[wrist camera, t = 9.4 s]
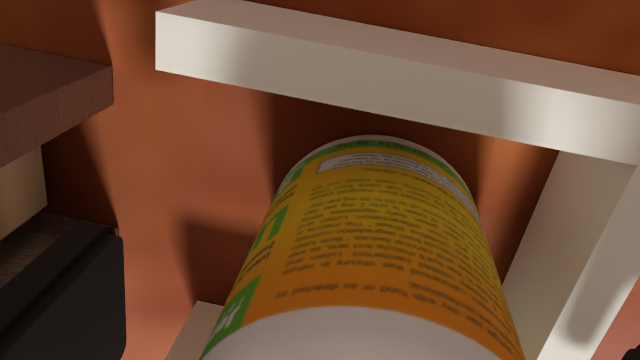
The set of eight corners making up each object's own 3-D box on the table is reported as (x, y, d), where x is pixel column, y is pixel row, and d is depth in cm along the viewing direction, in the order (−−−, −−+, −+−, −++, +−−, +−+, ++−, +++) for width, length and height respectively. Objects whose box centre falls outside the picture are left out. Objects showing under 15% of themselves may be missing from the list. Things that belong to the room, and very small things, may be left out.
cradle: (642, 76, 10) (730, 122, 8) (491, 391, 15) (513, 488, 12) (214, -6, 11) (155, 11, 8) (196, 324, 15) (154, 404, 13)
